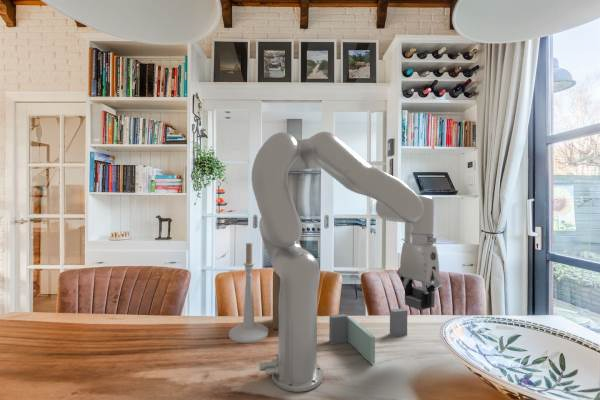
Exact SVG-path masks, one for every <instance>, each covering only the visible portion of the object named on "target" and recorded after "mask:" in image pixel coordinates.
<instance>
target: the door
mask: <svg viewBox="0 0 600 400" xmlns="http://www.w3.org/2000/svg"><path fill="white" fill-rule="evenodd" d="M346 316H347V342H348V343H350V345H352V346H353V347H354V348H355V350H357V351H358V352H359V353H360V354H361V355H362V357H364V358H365V360H366V361H368V362H369V363H370V364H372V365H373V364H375V363H376V336H375V335H373V334H372V333H371V332H370V331H368V330H367V329H366V328H365V327H364V326H363V325H361V324H360V323H359V322H358V321H357V320H355V319H354V317H352V316H350V315H346Z"/></svg>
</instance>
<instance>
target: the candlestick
mask: <svg viewBox="0 0 600 400" xmlns="http://www.w3.org/2000/svg"><path fill="white" fill-rule="evenodd" d="M243 265H244V270H245V271H246V274H245V286H244V287H245V289H244V304H243V305H244V306H243V308H244V309H243V321H242V323H239V324H237V325H235V326H233V327H232V328H231V329H230V330H229V331H228V337H229V339H230V340H232V341H233V342H236V343H240V344H243V343H244V344H248V343H255V342H256V343H257V342H259V341H261V340H264V339H265V338H267V337H268V335H269V328H268V327H267V326H266V325H265V324H263V323H259V322H257V321H256V322H255V312H254V311H255V310H254V309H255V308H254V290H253V289H254V287H253V284H254V283H253V274H252V272H253V269H254V265H255V263H254V262H253V243H252V242H246V243H245V263H243Z"/></svg>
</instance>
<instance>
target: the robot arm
mask: <svg viewBox="0 0 600 400" xmlns="http://www.w3.org/2000/svg"><path fill="white" fill-rule="evenodd" d="M251 168H252V169H251V186H252V190H253V195H254V197H255V201H256V205H257V208H258V211H259V213H260V216H261V217H260V219H259V226H258V227H259V232H260V236H261V238H262V242H263V245H264V247H265V250H266V253H267V256H268V257H269V261H270V263H271V266H272V268H273V271H274V270H275V272H276V273H277V274H278V276H279V277H280V293H279V329H278V354H275V359H272V360H271V361H261V362H260V361H259V364H258V366H259V372H265V376H270V375H271V378H272V381H273V383H274V384H275V385H276V387H279V388H280V389H282V390H285V391H288V392H295V393H298V392H299V393H301V392H306V391H307V392H308V391H310V390H313V389H315V388H317V387H319V385H320V384H321V383H322V381H323V379H324V372H323V371H324V370H323V368H322V367H321V366H320V365H319V364H318V363H317V362H318V357H317V356H318V355H317V354H318V352H317V351H318V347H317V346H318V344H317V343H318V328H317V327H318V292H319V285H320V279H321V270H320V265H319V262H318V260H317V259H316V257H315V256H314V255H313V254H312V253H311V252H309V251H308V250H307V249H305V248H303V247H302V245H301V242H300V239H301V237H302V234H303V225H302V222H301V218H300V216H299V213H298V211H297V208H296V205H295V203H294V199H293V196H292V193H291V190H290V185H289V172H294V171H305V170H312V169H317V168H321V169H322V170H323V171H324V172H326V173H327V174H328V175H329V176H331V177H332V178H333V179H334V180H336V182H338V183H340V184H341V185H342V186H343V187H344V188H346V189H347V190H349V191H351V192H353V193H356V194H358V195H362V196H366V197H369V198H372V199H373V200H376V203H375V212H376V214H377V215H378V216H379V218H380V219H382V220H385V221H389V222H396V223H397V222H398V223H404V242H403V243H402V245H401V246H402V247H401V253H400V263H399V268H398V269H397V270H396V274H397V275H398V277H399V279H400V280H401V282H402V286H403V288H404V297H405V296H409V295H413V287H415V286H414V285H413V284H414V281H417V282H420V283H421V285H422V286H421V287H423V291H424V293H422V308H428V307H431V303H432V293H433V292H434V291H436V290H437V289H439V288H441V287H442V286H443V285H444V283H443V281H442V279H441V278H440V262H439V253H438V250H437V245H434V243H436V242H437V238H436V237H435V236H434V221H435V220H434V218H435V217H434V216H435V215H434V214H435V211H434V210H435V208H434V207H435V202H434V198H433V197H432V196H431V195H418V194H417V193H416V192H415V191H414V190H413V189H412V188H410V187H409V185H407V184H406V183H404V181H402V180H400V179H399V178H397V177H395V176H394V175H391V174H390V173H388V172H385V171H383V169H380V168H378V167H375V166H374V165H371V164H369V162H367V161H366V160H364V159H363V158H362V157H361V156H360V155H359V154H357V153H356V152H355V151H354V150H353V149H351V148H350V147H349V146H348V145H347V144H346V143H344V141H342V140H341V139H340V138H339V137H338V136H336V135H335V134H334V133H332V132H329V131H320V132H317V133H315V134H313V135H311V136H310V137H309V138H304V139H303V138H302V139H296V138H295V137H294V135H292V134H290V133H288V132H282V131H281V132H277V133H274V134H272V135H271V136H270V137H268V139H266V140H265V142H264V143H263V144H262V145H261V147H260V149H259V150H258V152H257V153H256V156H255V158H254V161H253V164H252V167H251ZM428 309H429V308H428Z"/></svg>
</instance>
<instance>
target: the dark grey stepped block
mask: <svg viewBox="0 0 600 400" xmlns="http://www.w3.org/2000/svg"><path fill="white" fill-rule="evenodd" d="M435 291H436V290H435ZM435 291H434V292H433V293H432V303H431V307H428V308H422V293H424V291H423V287H422V286H421V285H419V286H414V287H413V295H409V296H405V295H404V305H405V306H407V307H411V308H412V309H415V310H417V311H423V310H427V309H431V308H435Z"/></svg>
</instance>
